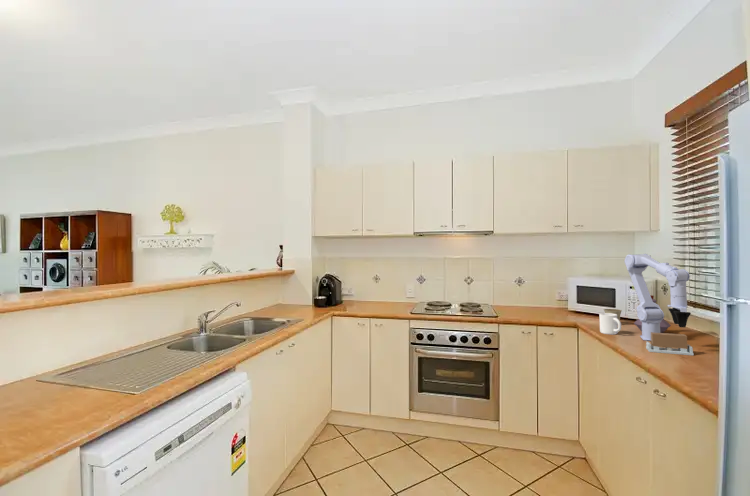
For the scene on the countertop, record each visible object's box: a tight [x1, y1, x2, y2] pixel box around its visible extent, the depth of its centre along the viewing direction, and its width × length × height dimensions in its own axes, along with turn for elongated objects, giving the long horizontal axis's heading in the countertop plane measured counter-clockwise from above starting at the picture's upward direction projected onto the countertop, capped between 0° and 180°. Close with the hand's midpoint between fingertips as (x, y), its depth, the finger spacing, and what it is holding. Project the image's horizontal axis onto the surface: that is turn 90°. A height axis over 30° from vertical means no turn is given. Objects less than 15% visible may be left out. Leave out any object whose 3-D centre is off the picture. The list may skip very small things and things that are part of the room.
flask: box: [633, 294, 672, 333], centre depth 196 cm, size 16×16×20 cm
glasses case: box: [650, 332, 688, 349], centre depth 158 cm, size 4×12×6 cm, turn 62°
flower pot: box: [603, 308, 623, 322], centre depth 219 cm, size 9×9×9 cm
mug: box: [598, 312, 622, 336], centre depth 194 cm, size 12×8×10 cm
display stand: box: [645, 341, 694, 356], centre depth 158 cm, size 7×15×3 cm, turn 62°
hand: (679, 325), depth 163 cm, fingers open, 7 cm apart
